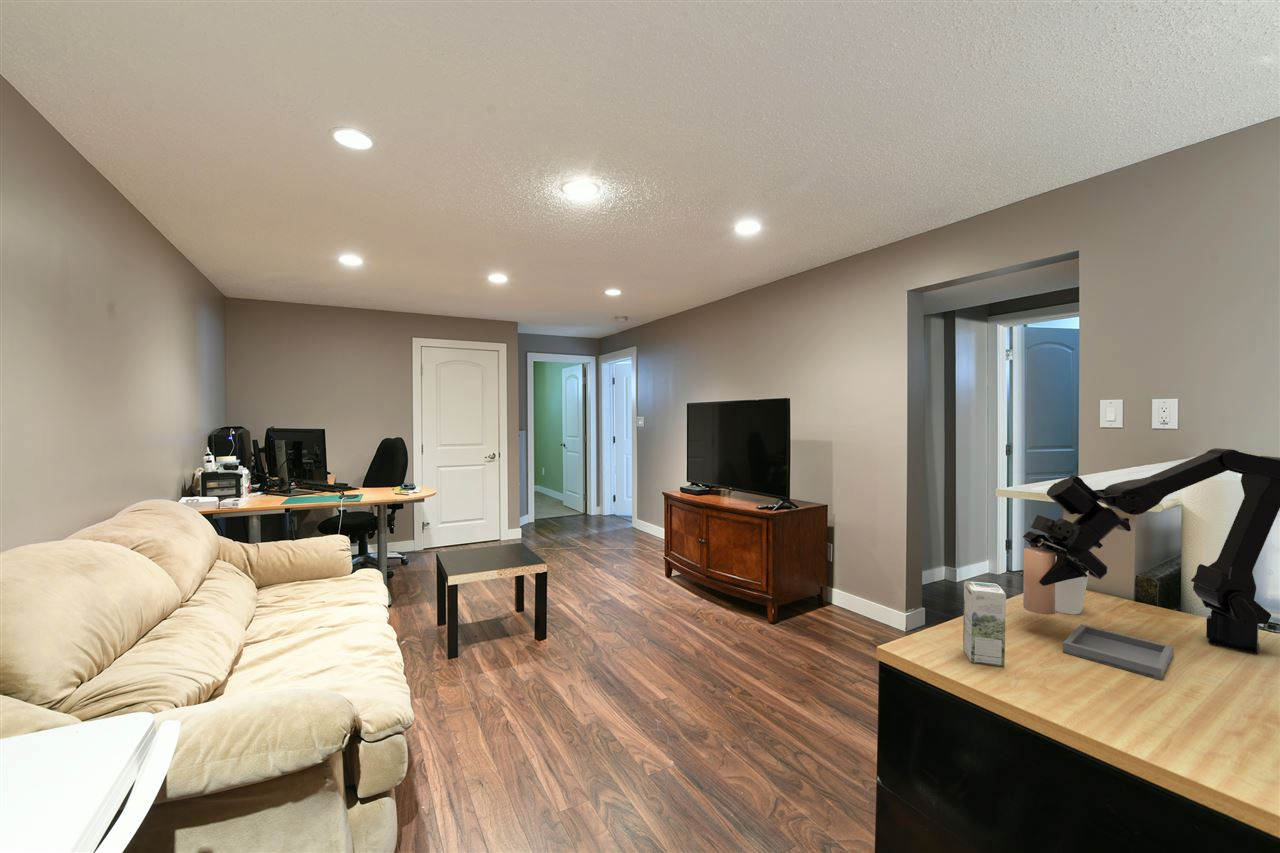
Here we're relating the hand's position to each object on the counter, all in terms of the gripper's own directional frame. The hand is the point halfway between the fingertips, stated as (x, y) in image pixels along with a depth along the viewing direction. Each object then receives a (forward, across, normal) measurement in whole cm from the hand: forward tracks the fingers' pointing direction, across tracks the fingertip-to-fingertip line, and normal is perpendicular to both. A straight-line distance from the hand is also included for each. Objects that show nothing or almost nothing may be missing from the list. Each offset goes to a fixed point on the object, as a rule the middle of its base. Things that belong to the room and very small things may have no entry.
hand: (1032, 579), depth 113 cm
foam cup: (-3, -14, +19) cm, 24 cm away
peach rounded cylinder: (+4, 0, +6) cm, 7 cm away
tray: (+1, +10, +15) cm, 18 cm away
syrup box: (+20, +14, -4) cm, 25 cm away
